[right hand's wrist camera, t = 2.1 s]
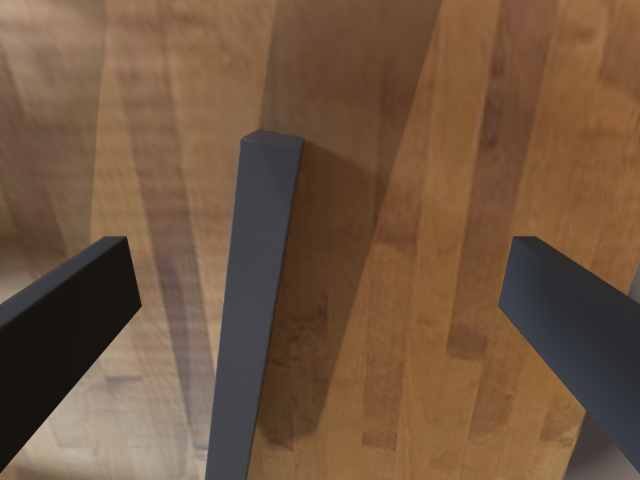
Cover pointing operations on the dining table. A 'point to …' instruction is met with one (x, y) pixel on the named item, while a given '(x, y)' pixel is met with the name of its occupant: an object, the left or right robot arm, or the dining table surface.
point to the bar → (251, 295)
